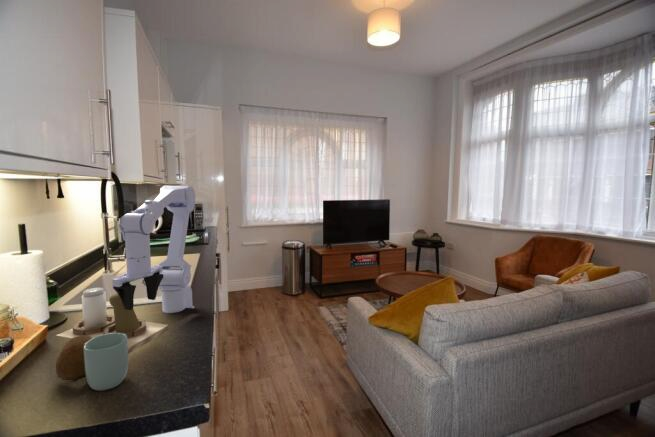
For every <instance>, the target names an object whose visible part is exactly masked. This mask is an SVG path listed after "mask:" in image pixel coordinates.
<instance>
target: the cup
mask: <svg viewBox="0 0 655 437" xmlns="http://www.w3.org/2000/svg"><path fill="white" fill-rule="evenodd" d="M128 350H129V348H128V338H127V335H126V334H124V333H110V334H105V335H101V336H97V337H95V338H93V339H91V340H89V341H88V342H87V343H86V344H85V345H84V350H83V351H84V367H85V374H86V375H85V378H86V382H87V384H88V386H89V387H90V388H91V389H92V390H94V391H100V392H101V391H107V390H111V389H114V388H115V387H117V386H119V385H121V383H122V382H123V381H124V380H125V378H126V376H127V373H128V370H129V362H130V359H129V358H130V357H129V355H130V353H129V352H128Z"/></svg>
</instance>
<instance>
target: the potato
mask: <svg viewBox="0 0 655 437" xmlns="http://www.w3.org/2000/svg"><path fill="white" fill-rule="evenodd" d="M91 339H93V338H92V337H90V336H78V337H74V338H70V340H68V341H66V342H65V343H64V345H63V346H62V348H61V350H60V351H59V354H58V356H57V357H56V358H57V359H56V363H55V372H56V375H57V376H58V378H60V379H61V380H62V381H65V382H66V381H75V380H77V379H78V378H80V379H81V378H84V376H85V377H86V374H85V367H84V351H83V350H84V345H85V344H86V343H87V342H88V341H89V340H91Z"/></svg>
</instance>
